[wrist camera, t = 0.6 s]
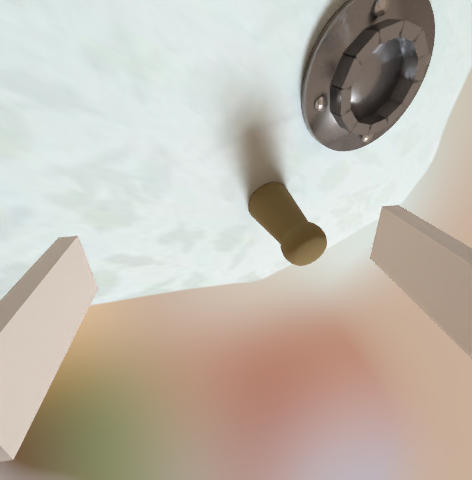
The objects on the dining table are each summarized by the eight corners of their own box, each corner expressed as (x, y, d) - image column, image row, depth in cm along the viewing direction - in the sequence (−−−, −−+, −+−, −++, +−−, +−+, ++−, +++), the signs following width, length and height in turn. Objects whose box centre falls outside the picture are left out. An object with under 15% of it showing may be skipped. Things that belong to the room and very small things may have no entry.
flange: (295, 15, 25) (314, 17, 23) (443, -43, 26) (475, -47, 24) (305, 166, 36) (319, 177, 34) (408, 120, 37) (428, 127, 35)
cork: (295, 186, 38) (345, 235, 30) (276, 222, 41) (317, 274, 33) (259, 178, 35) (305, 229, 27) (241, 217, 38) (278, 273, 30)
